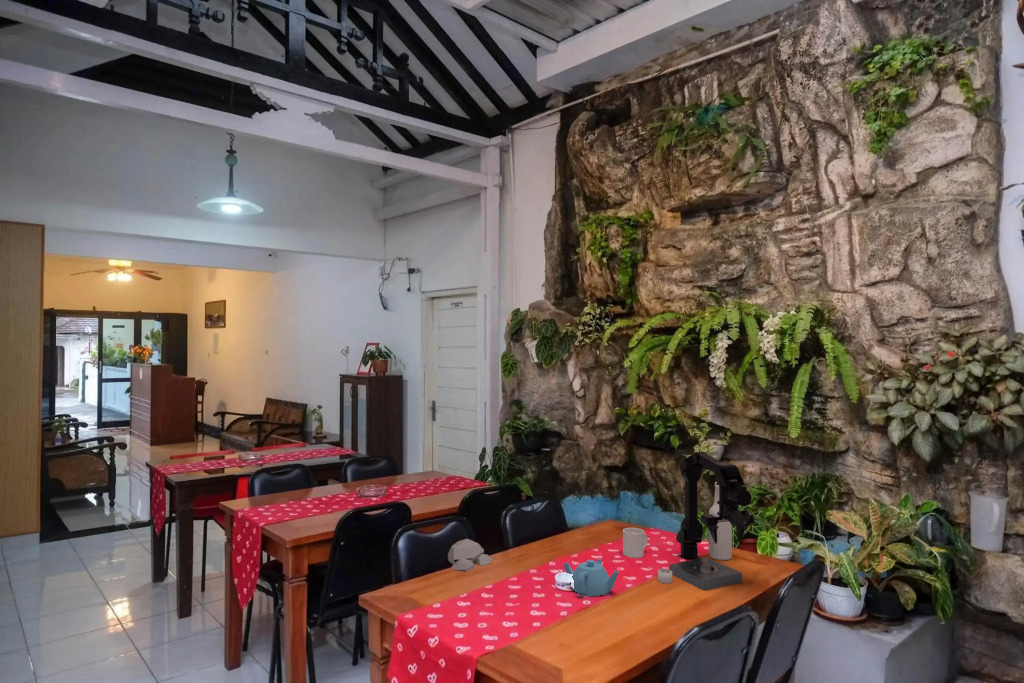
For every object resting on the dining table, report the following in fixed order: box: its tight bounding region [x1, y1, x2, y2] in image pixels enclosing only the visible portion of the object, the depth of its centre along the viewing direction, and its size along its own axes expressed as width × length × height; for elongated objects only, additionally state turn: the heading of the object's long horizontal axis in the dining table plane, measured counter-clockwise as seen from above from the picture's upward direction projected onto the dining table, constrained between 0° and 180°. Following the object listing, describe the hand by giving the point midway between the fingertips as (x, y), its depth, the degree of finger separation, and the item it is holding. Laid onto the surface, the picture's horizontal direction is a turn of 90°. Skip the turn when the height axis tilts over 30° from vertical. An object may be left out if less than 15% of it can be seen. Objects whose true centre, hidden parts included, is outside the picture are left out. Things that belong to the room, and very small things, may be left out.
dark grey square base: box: [668, 557, 743, 591], centre depth 228 cm, size 18×18×4 cm
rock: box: [447, 538, 493, 572], centre depth 238 cm, size 18×20×10 cm
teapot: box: [562, 558, 620, 597], centre depth 214 cm, size 15×15×11 cm
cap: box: [657, 568, 673, 585], centre depth 223 cm, size 5×5×4 cm
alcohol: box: [708, 481, 733, 561], centre depth 251 cm, size 9×9×30 cm
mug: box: [622, 527, 648, 559], centre depth 253 cm, size 12×8×10 cm
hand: (727, 542), depth 225 cm, fingers open, 9 cm apart
